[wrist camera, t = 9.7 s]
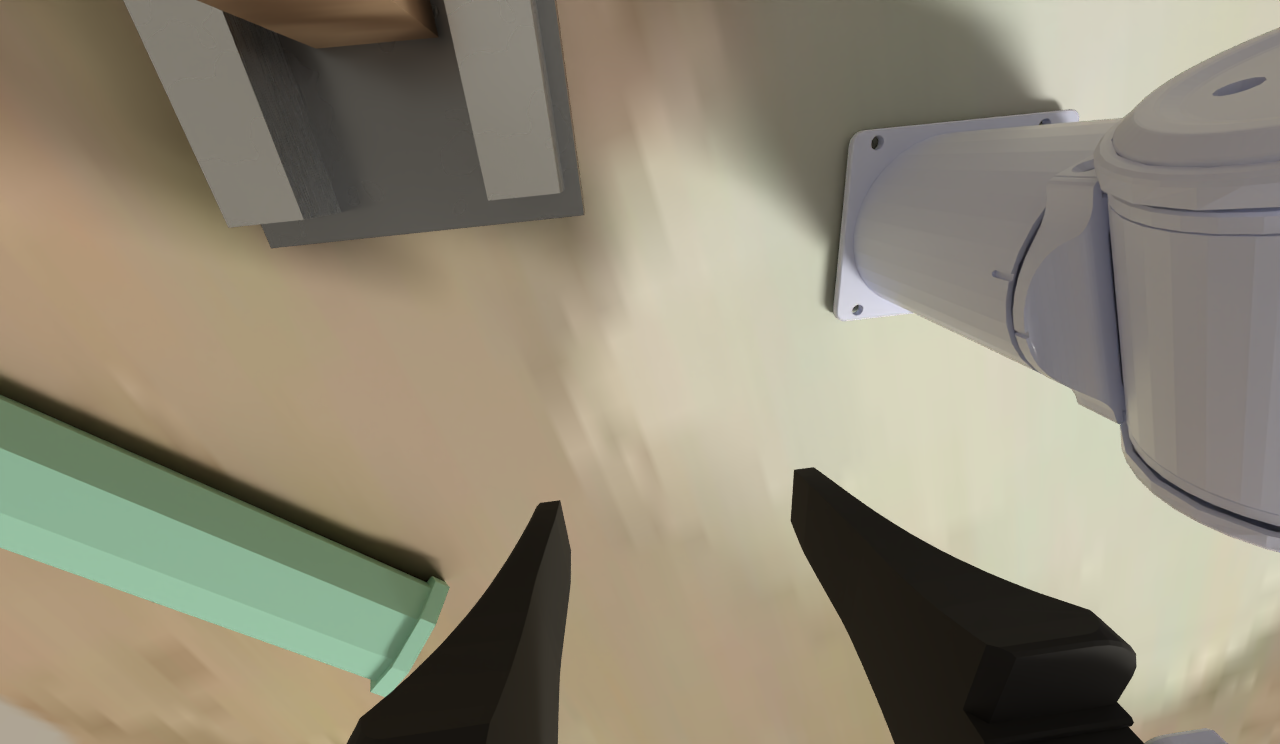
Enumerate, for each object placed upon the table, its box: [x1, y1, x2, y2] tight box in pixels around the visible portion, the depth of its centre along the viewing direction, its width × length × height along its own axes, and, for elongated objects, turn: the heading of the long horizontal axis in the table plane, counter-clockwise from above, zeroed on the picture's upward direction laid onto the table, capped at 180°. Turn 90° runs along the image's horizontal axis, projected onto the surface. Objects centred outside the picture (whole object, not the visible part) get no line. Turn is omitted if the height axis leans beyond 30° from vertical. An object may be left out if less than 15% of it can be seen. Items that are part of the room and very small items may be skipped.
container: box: [0, 395, 450, 697], centre depth 21 cm, size 6×6×25 cm
